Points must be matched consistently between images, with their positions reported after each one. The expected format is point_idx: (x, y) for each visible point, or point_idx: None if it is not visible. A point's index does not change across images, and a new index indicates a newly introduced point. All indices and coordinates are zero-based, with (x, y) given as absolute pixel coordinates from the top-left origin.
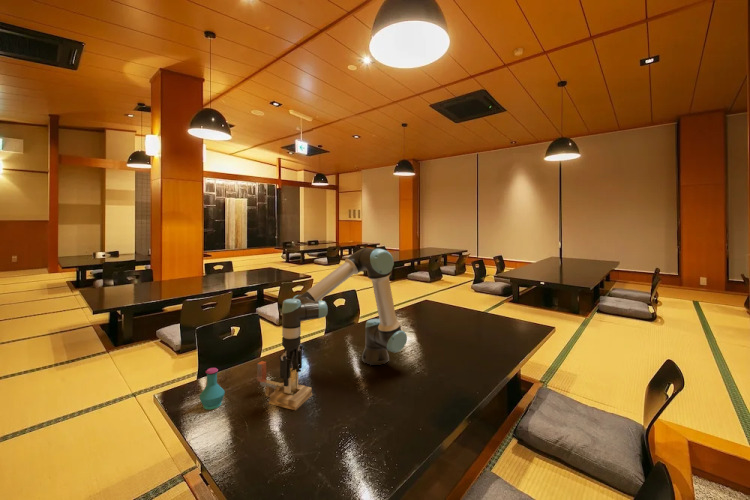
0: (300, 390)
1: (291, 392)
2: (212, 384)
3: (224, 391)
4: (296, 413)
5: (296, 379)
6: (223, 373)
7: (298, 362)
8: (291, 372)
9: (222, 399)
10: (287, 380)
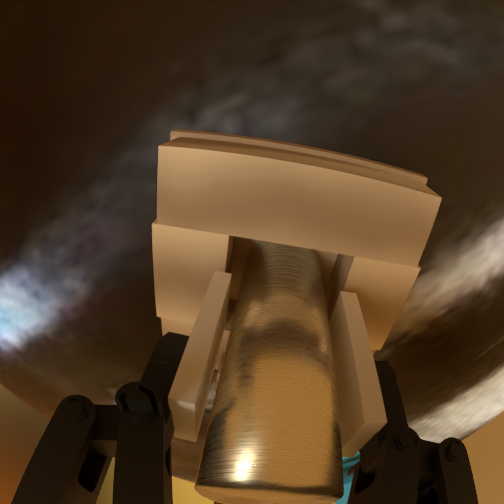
0: (247, 228)
1: (322, 287)
2: None
3: (350, 483)
4: (451, 155)
5: (215, 339)
6: (184, 477)
7: (77, 493)
8: (341, 484)
9: (356, 462)
10: (390, 414)
